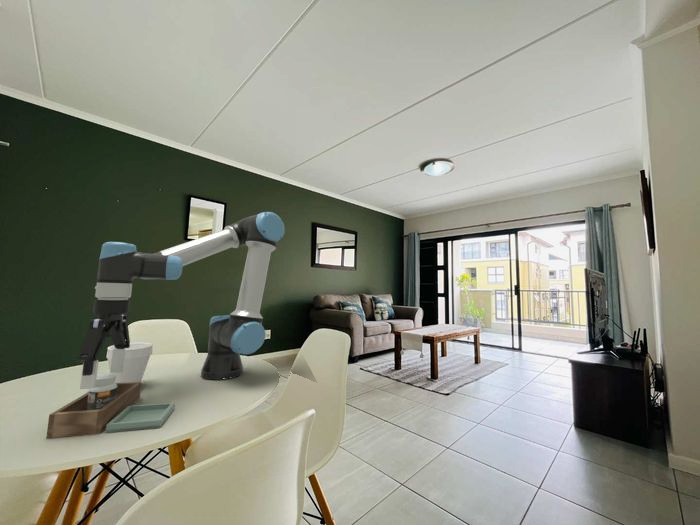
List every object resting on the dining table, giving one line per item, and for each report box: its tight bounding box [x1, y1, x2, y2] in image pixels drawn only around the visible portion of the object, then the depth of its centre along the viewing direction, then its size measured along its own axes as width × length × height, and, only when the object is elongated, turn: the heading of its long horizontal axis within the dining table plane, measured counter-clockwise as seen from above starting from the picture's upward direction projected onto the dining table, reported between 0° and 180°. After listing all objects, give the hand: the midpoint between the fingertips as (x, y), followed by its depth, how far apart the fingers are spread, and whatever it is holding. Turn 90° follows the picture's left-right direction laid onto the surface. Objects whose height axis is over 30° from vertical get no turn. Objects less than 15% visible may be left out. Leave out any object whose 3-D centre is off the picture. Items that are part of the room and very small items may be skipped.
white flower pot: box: [105, 342, 154, 383], centre depth 95 cm, size 12×12×14 cm
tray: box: [105, 402, 176, 434], centre depth 72 cm, size 11×11×2 cm
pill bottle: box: [86, 373, 117, 410], centre depth 74 cm, size 6×6×10 cm
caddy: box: [45, 381, 142, 439], centre depth 74 cm, size 10×21×5 cm, turn 16°
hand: (103, 379), depth 74 cm, fingers open, 13 cm apart
